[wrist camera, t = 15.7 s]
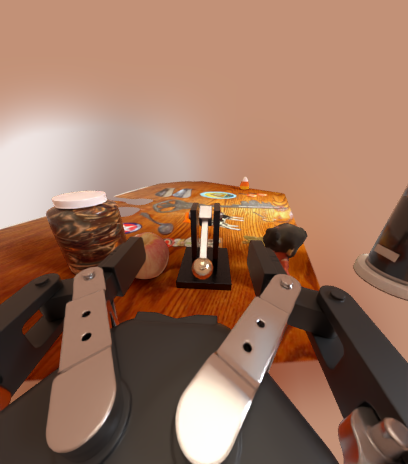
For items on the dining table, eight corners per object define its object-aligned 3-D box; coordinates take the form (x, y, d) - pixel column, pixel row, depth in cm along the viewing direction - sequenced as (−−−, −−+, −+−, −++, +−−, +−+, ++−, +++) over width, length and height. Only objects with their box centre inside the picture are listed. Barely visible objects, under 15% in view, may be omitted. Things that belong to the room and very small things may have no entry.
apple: (157, 254, 39) (152, 224, 36) (178, 272, 33) (175, 239, 30) (119, 271, 34) (110, 237, 30) (137, 296, 28) (128, 258, 25)
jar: (120, 241, 45) (106, 186, 38) (137, 260, 37) (122, 195, 30) (67, 258, 38) (38, 194, 31) (74, 286, 30) (37, 209, 23)
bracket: (231, 290, 29) (238, 219, 23) (176, 287, 30) (169, 218, 24) (226, 253, 40) (231, 198, 34) (186, 251, 41) (183, 197, 34)
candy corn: (239, 189, 106) (240, 176, 102) (239, 188, 109) (240, 176, 105) (248, 190, 105) (250, 177, 101) (248, 189, 107) (250, 176, 104)
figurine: (278, 300, 27) (296, 238, 22) (251, 281, 31) (261, 224, 26) (297, 284, 31) (317, 227, 25) (270, 268, 35) (283, 216, 29)
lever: (212, 282, 24) (213, 275, 22) (191, 281, 25) (189, 274, 22) (214, 215, 32) (214, 204, 29) (198, 215, 32) (197, 203, 29)
